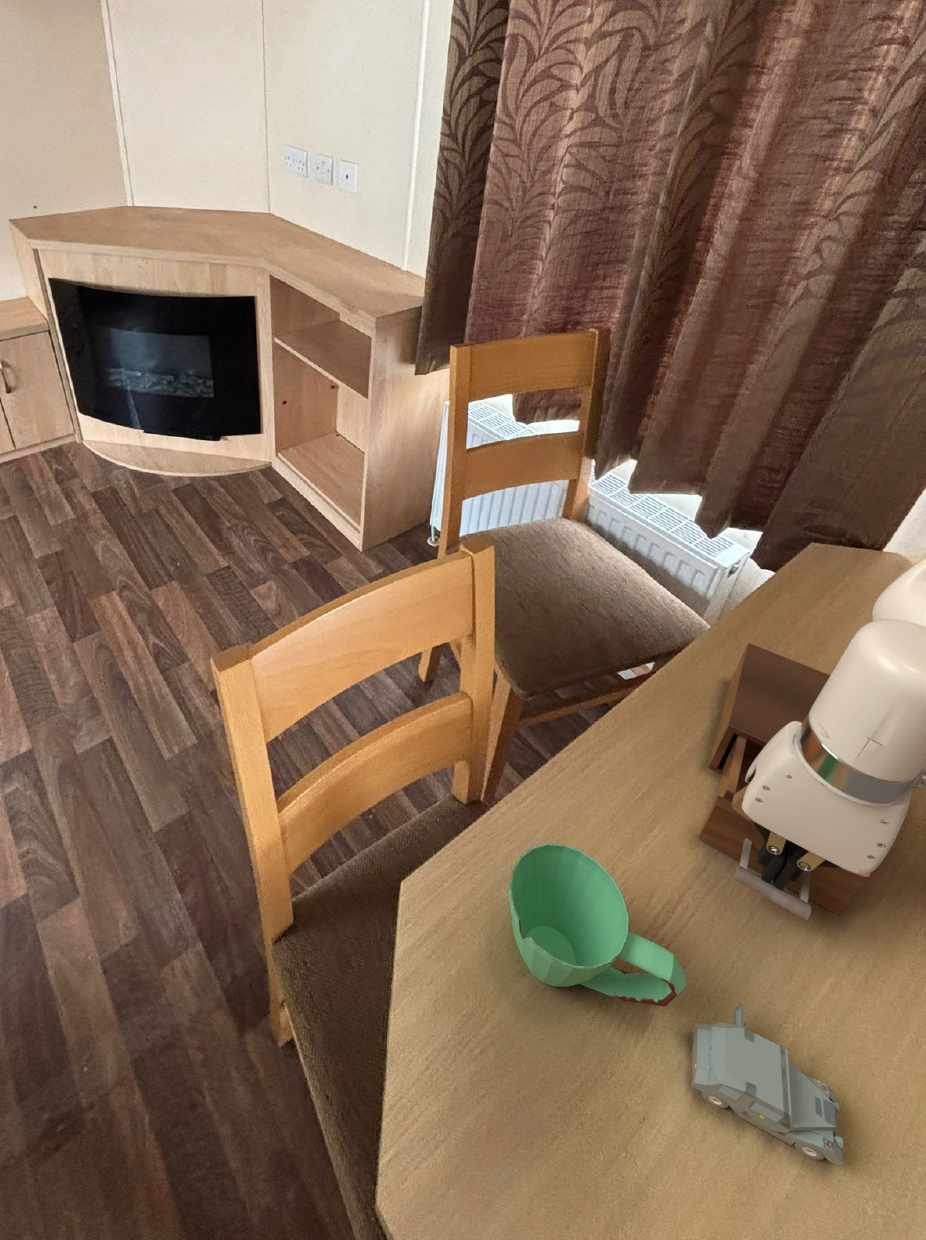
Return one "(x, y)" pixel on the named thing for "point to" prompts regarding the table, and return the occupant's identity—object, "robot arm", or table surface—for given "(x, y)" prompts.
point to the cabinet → (764, 699)
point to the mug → (584, 929)
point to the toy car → (765, 1087)
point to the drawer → (745, 841)
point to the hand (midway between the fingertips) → (772, 871)
